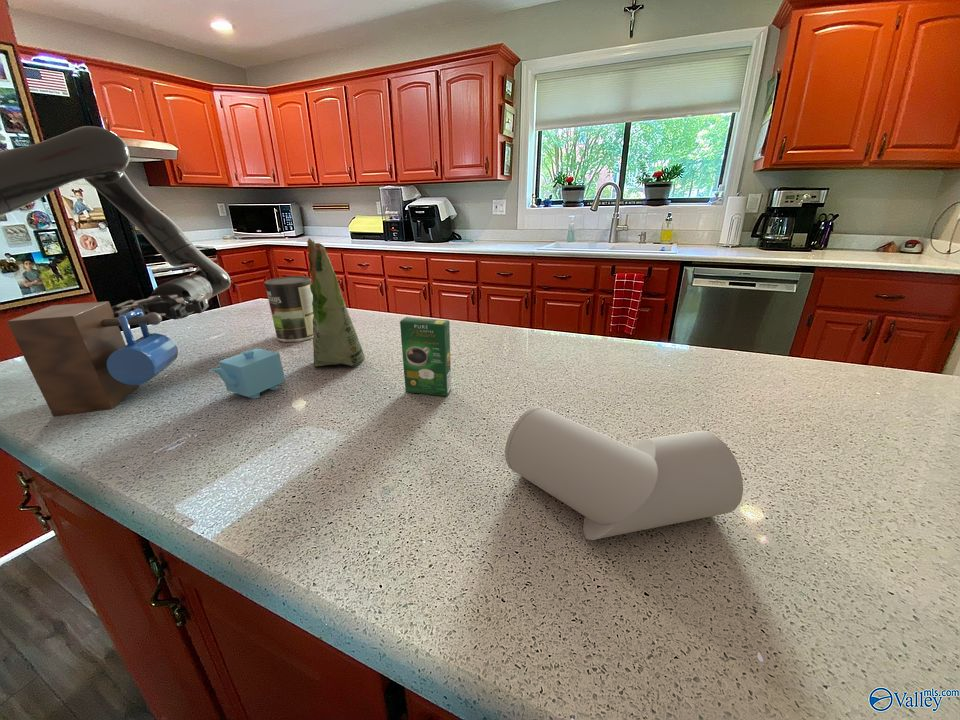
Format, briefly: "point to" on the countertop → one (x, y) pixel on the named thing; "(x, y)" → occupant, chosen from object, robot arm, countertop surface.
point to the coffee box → (426, 355)
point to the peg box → (75, 354)
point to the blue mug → (140, 354)
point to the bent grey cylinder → (624, 473)
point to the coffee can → (291, 307)
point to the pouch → (330, 314)
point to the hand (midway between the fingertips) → (146, 316)
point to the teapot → (251, 372)
